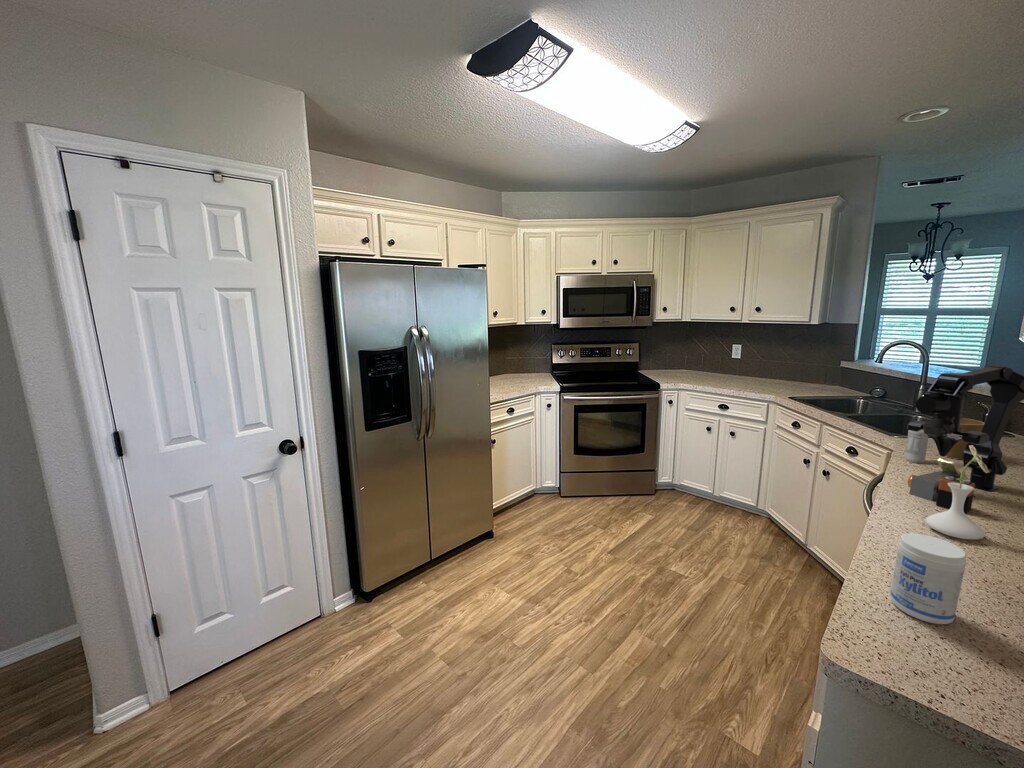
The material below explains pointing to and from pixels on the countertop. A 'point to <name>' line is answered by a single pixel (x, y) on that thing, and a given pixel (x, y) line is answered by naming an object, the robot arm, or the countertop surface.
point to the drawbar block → (928, 484)
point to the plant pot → (961, 445)
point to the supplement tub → (928, 578)
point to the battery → (946, 493)
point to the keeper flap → (949, 467)
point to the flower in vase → (958, 509)
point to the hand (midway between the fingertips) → (942, 456)
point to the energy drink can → (916, 446)
